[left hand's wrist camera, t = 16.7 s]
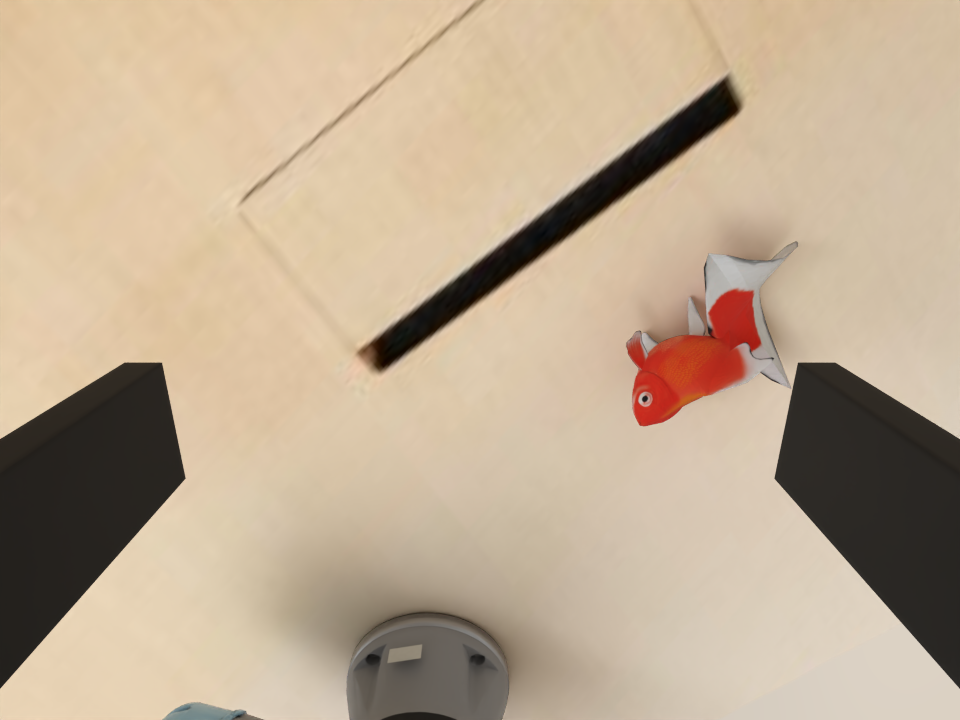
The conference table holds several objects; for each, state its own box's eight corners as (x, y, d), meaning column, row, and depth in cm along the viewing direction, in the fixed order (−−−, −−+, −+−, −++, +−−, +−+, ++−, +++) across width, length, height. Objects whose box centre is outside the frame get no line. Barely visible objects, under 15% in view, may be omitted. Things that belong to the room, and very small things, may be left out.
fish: (560, 313, 39) (678, 371, 31) (717, 187, 42) (857, 211, 35) (600, 417, 45) (706, 486, 37) (733, 300, 49) (855, 342, 41)
